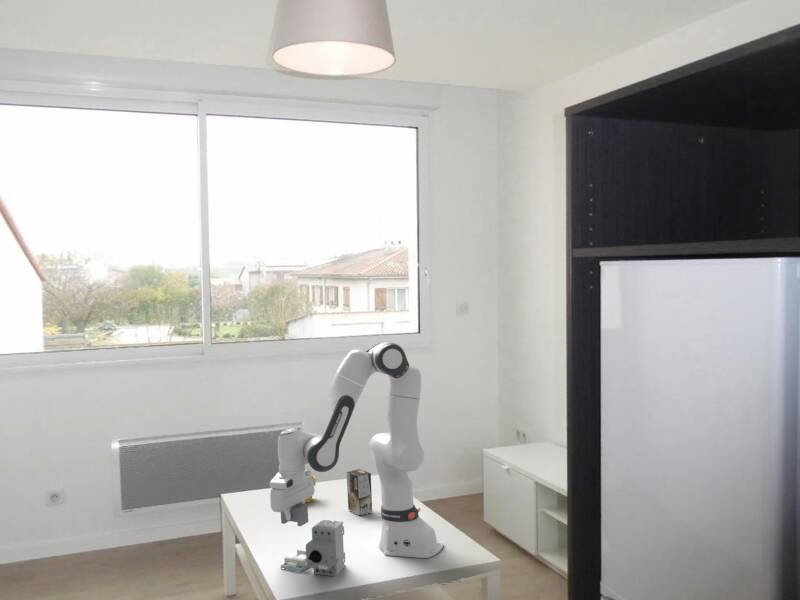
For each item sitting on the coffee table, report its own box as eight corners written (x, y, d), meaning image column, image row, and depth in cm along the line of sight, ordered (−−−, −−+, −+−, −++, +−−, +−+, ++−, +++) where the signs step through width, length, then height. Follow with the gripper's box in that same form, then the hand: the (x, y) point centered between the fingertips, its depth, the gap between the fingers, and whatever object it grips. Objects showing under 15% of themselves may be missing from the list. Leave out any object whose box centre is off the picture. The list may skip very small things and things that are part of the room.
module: (308, 521, 249) (307, 504, 249) (300, 526, 245) (299, 508, 245) (289, 519, 253) (288, 501, 253) (281, 523, 249) (280, 505, 249)
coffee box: (373, 513, 293) (371, 473, 292) (359, 516, 290) (357, 476, 289) (361, 507, 301) (359, 468, 300) (347, 510, 297) (346, 471, 296)
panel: (324, 556, 251) (324, 547, 251) (301, 572, 238) (300, 563, 238) (305, 553, 255) (304, 544, 254) (280, 568, 242) (280, 559, 242)
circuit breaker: (304, 581, 231) (302, 534, 231) (325, 563, 245) (323, 519, 244) (326, 584, 229) (324, 537, 228) (345, 566, 242) (343, 521, 241)
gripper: (302, 467, 259) (305, 505, 260) (266, 484, 241) (268, 525, 242) (317, 468, 256) (319, 507, 257) (281, 486, 238) (284, 527, 239)
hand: (294, 516), depth 249 cm, fingers closed on module, 4 cm apart
